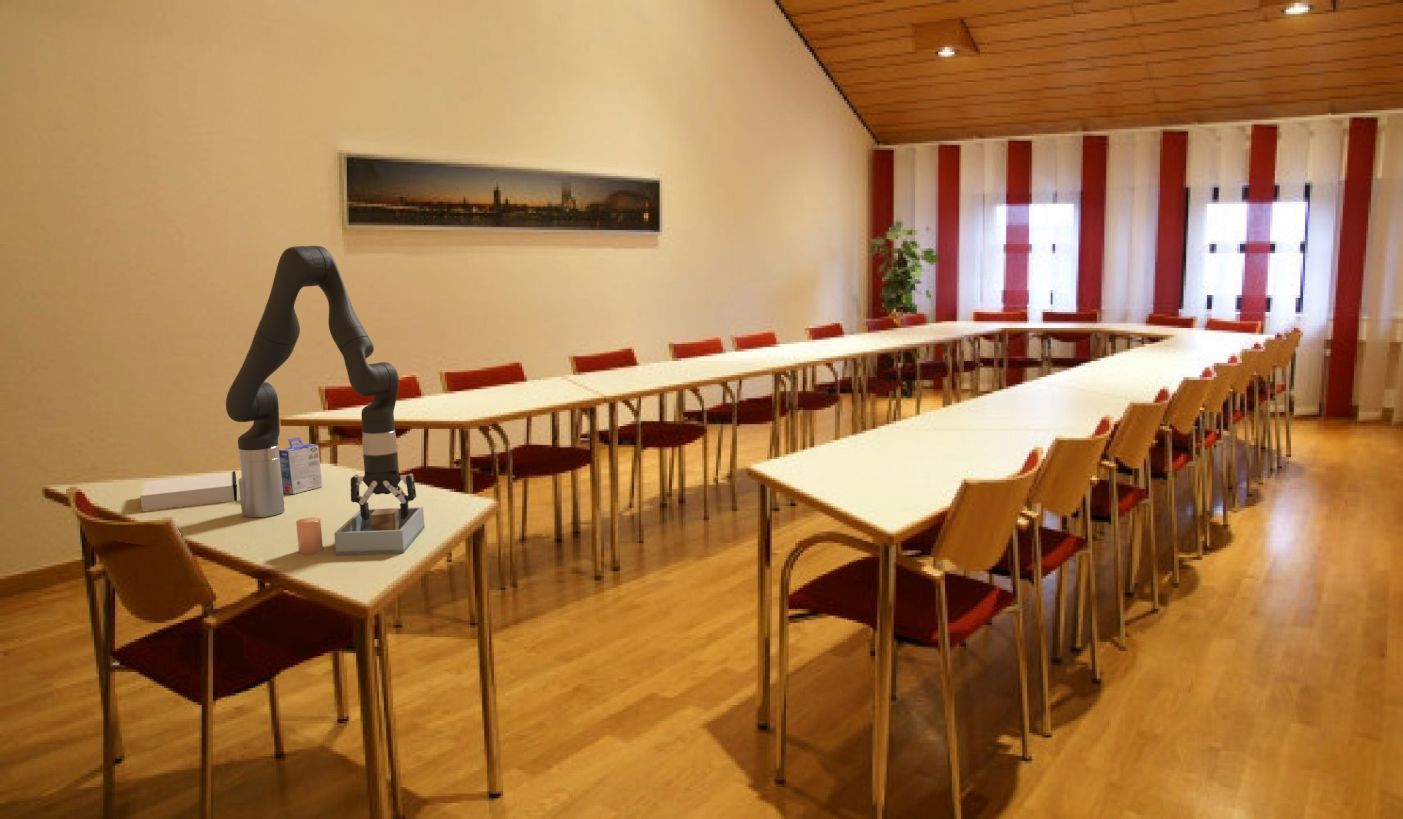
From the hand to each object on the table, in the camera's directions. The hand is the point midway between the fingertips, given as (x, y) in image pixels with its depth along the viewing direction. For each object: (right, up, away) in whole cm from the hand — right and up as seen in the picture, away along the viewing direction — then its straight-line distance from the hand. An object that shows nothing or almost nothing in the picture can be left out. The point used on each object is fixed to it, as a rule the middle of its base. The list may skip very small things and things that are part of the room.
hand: (385, 518), depth 232 cm
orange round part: (-13, -6, -10) cm, 18 cm away
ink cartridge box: (-38, +3, +47) cm, 60 cm away
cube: (0, -3, 0) cm, 3 cm away
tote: (0, -5, -3) cm, 6 cm away
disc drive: (-65, 0, +40) cm, 76 cm away
